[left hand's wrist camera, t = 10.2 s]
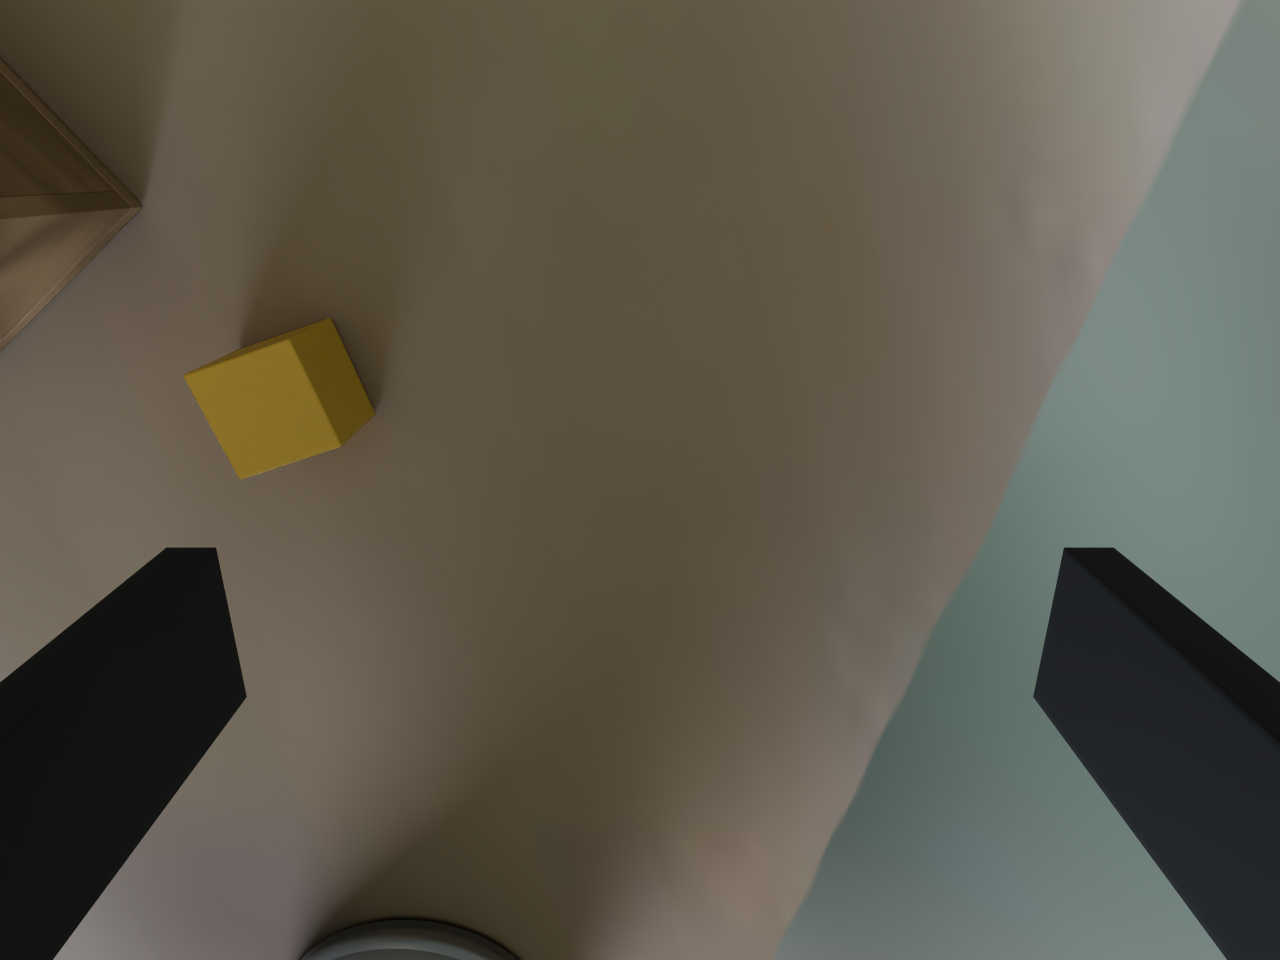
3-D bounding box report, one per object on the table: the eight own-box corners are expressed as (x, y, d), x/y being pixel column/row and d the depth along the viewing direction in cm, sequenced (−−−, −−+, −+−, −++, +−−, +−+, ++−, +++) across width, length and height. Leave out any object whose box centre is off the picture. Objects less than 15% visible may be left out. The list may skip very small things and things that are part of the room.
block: (331, 316, 33) (288, 338, 29) (376, 413, 35) (341, 447, 31) (236, 349, 34) (181, 375, 30) (284, 444, 35) (239, 480, 31)
